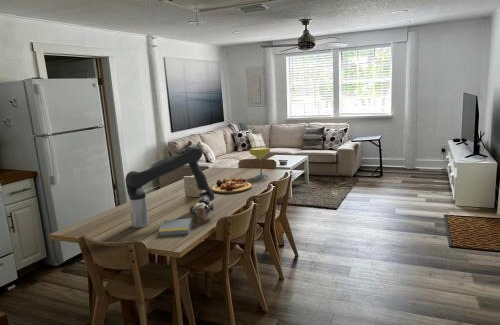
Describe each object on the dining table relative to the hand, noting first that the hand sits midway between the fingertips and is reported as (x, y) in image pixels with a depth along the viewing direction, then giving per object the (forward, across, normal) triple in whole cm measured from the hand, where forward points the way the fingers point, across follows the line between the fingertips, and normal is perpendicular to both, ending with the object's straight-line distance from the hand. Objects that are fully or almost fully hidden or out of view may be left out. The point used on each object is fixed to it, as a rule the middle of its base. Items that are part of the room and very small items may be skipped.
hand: (200, 212), depth 225 cm
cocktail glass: (-111, +40, +7) cm, 118 cm away
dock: (+10, -13, +6) cm, 18 cm away
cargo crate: (-2, 0, +6) cm, 7 cm away
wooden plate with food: (-75, +15, +7) cm, 77 cm away
